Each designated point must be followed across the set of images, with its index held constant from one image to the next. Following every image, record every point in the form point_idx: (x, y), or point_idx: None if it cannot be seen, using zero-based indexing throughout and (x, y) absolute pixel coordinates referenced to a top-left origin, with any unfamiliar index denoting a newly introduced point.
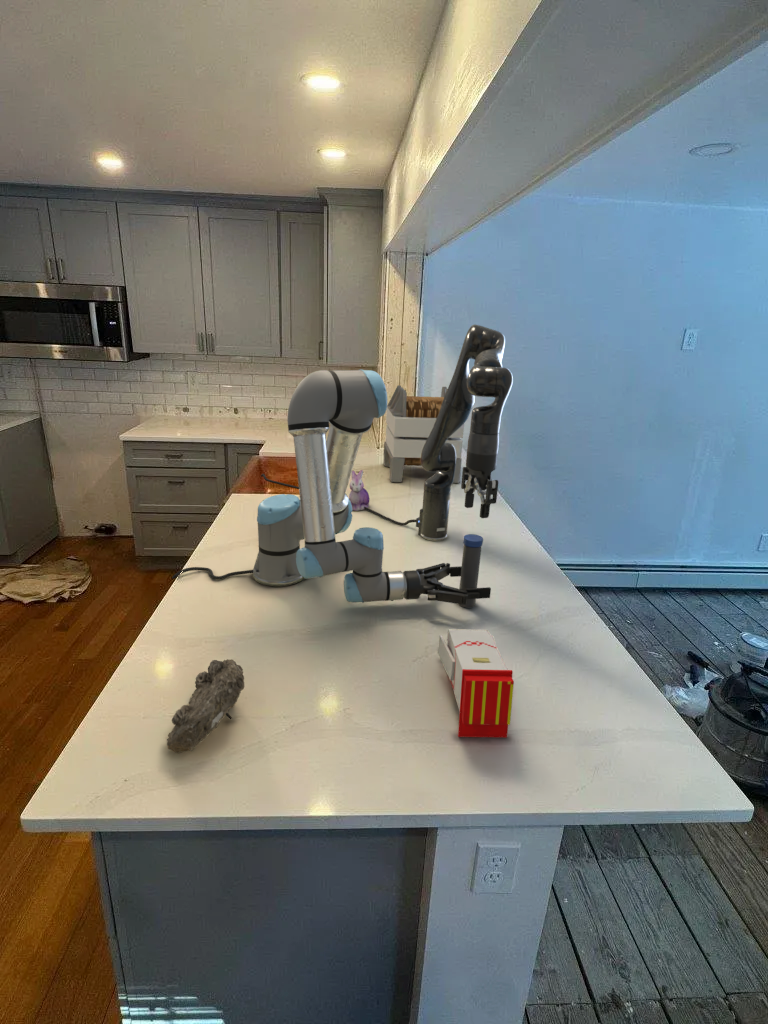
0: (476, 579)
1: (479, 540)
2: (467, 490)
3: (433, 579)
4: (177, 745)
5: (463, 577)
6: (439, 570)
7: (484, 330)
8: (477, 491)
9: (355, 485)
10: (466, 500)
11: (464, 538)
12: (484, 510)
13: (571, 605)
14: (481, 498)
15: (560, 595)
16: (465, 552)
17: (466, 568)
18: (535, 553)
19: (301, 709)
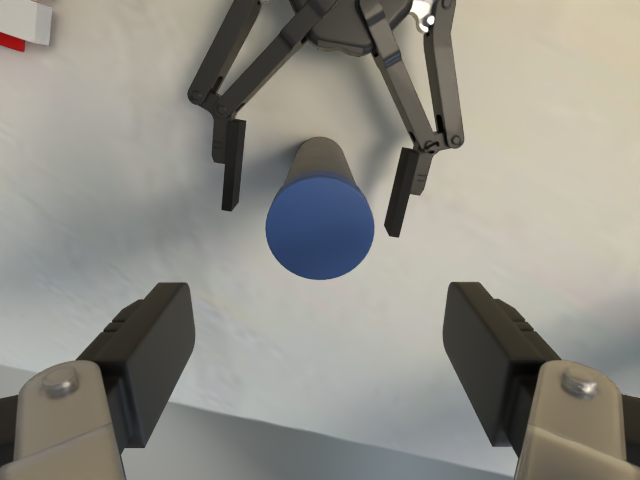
0: None
1: (274, 243)
2: (532, 405)
3: (347, 32)
4: None
5: (309, 150)
6: (410, 95)
7: None
8: (110, 472)
9: None
10: (478, 318)
11: (325, 176)
12: (98, 336)
13: (245, 400)
14: (70, 413)
15: (294, 404)
16: (308, 167)
17: (298, 161)
18: (510, 468)
19: None
